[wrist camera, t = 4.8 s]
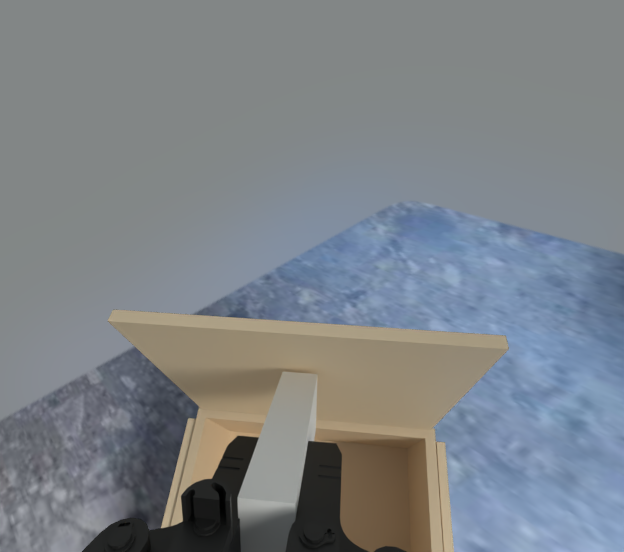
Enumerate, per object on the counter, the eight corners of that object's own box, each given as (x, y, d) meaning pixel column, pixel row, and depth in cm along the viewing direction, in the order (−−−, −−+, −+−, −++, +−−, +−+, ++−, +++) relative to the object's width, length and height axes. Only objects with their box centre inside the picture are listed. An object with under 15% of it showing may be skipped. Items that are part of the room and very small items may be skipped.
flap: (429, 419, 22) (505, 333, 13) (430, 430, 22) (509, 349, 12) (204, 399, 24) (114, 307, 14) (201, 408, 23) (107, 321, 14)
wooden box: (421, 442, 28) (444, 429, 22) (431, 646, 23) (467, 704, 16) (219, 422, 30) (190, 406, 24) (180, 609, 24) (128, 649, 18)
